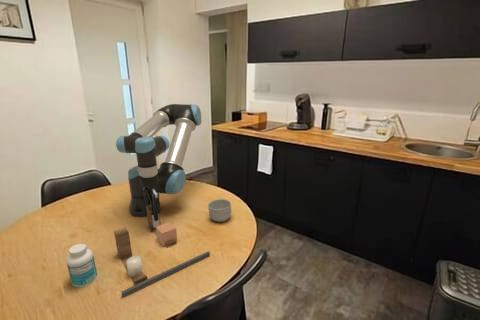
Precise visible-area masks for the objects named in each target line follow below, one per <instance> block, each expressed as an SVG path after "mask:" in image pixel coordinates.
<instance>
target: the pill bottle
mask: <svg viewBox="0 0 480 320" xmlns="http://www.w3.org/2000/svg"><path fill="white" fill-rule="evenodd" d="M87 247H88V246H87V245H86V244H85V243H77V244H75V245H73V246H71V247H70V248H69V250H68V253H69V255H68V256H67V258H66V259H65V261H66V267H67V270H68V274H69V278H70V282H71V285H72V286H73V287H75V288H83V287H86V286H88V285H90V284H92V283H93V282H95V281H96V280H97V278H98V272H97V266H96V262H95V257H94V252H93V250H91V249H90V248H87Z"/></svg>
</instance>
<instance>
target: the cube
mask: <svg viewBox="0 0 480 320" xmlns="http://www.w3.org/2000/svg"><path fill="white" fill-rule="evenodd" d="M177 232H178V231H177V227H176V226H175V225H173V224H172V223H171V222H170V221H168V222H166V223H163V224H161V225H160V226H157V227H156V234H157V235H156V234H155V235H156V240H157V241H158V243H159V244H160V245H161V246H162V247H166V243H168V242H170V241H173V240H176V242H178V233H177Z"/></svg>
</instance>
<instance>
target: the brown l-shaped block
mask: <svg viewBox="0 0 480 320" xmlns="http://www.w3.org/2000/svg"><path fill="white" fill-rule="evenodd" d="M146 209H147V216H146V217H147V223H148V229H149V230H150V232H151V233H154V234H155V235H156V236H157V234H156V227H155V228H154V227H153V221H152V215H151V213H152V208H151V204H150V205H146ZM160 217H161V216H160V214H159V223H160V225H162V224H161V219H160ZM177 242H178V241H176V240H173V241H170V242H168V243H166V246H165V247H166V248H170V247H173V246H175V245H177Z"/></svg>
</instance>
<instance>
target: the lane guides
mask: <svg viewBox="0 0 480 320" xmlns="http://www.w3.org/2000/svg"><path fill="white" fill-rule="evenodd" d="M210 256H211V253H210V251H209V250H208V251H205V252H204V253H201V254H200V255H197V256H194V257H193V258H191V259H188V260H186V261H185V262H182V263H180V264H178V265H176V266H173V267H172V268H169V269H167V270H165V271H163V272H161V273H159V274H157V275H154V276H152V277H150V278H147V280H145V281H143V282H141V283H139V284H137V285H132V286H130V287H128V288H126V289H124V290H122V291H120V292H121V296H122V298H126V297H127V296H129V295H132V294H134V293H136V292H138V291H140V290H142V289H144V288H146V287H149V286H150V285H152V284H155V283H157V282H159V281H160V280H163V279H165V278H167V277H170V276H172V275H173V274H176V273H177V272H179V271H182V270H184V269H185V268H188V267H190V266H192V265H195V264H197V263H199V262H201V261H202V260H205V259H207V258H209V257H210Z"/></svg>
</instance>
